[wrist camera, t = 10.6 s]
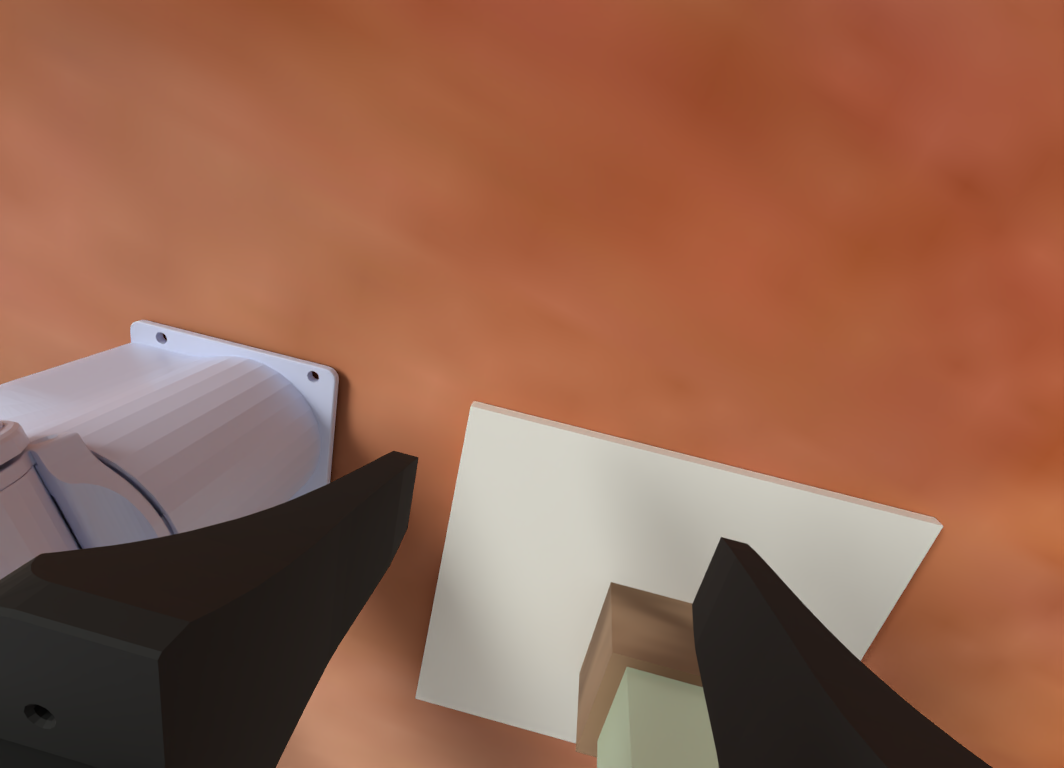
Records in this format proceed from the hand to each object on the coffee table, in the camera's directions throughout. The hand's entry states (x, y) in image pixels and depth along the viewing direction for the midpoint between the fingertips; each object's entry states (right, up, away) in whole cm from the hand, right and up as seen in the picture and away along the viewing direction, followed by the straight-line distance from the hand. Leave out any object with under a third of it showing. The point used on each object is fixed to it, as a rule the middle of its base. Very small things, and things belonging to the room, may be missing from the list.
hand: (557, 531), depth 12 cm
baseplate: (+5, -8, +13) cm, 16 cm away
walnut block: (+5, -9, +13) cm, 17 cm away
